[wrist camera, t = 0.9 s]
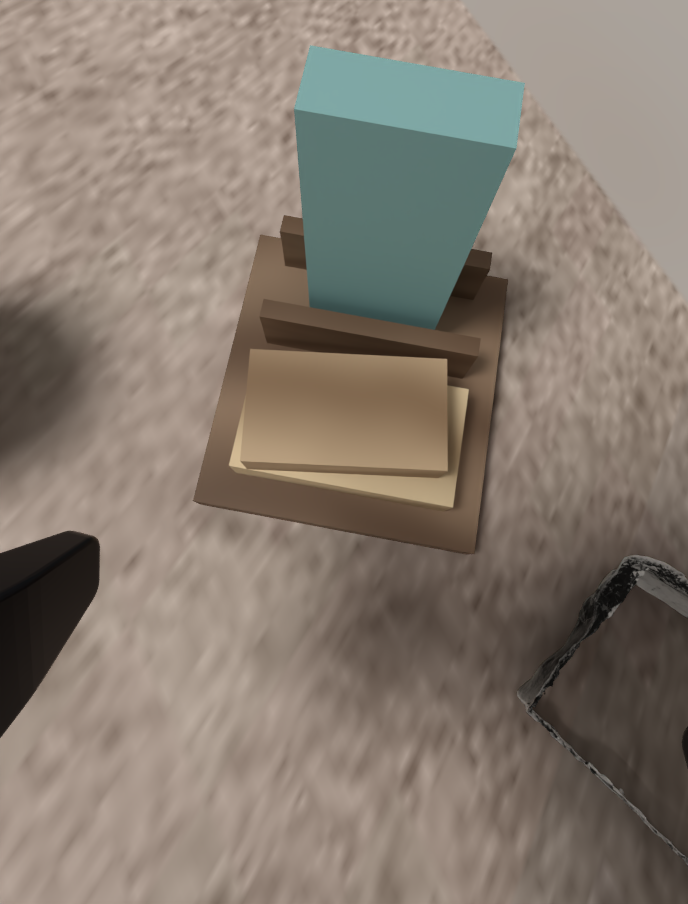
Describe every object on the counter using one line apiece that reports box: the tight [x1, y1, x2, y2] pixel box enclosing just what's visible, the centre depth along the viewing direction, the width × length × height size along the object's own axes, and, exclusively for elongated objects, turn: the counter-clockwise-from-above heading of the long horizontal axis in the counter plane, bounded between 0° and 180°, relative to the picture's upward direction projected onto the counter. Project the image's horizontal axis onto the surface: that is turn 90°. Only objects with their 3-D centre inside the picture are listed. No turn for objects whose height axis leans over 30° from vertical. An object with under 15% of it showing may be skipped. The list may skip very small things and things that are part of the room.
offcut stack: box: [229, 349, 469, 512], centre depth 20 cm, size 5×9×3 cm, turn 80°
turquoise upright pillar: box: [294, 45, 525, 330], centre depth 18 cm, size 2×6×11 cm, turn 80°
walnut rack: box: [193, 215, 508, 554], centre depth 22 cm, size 13×12×4 cm
